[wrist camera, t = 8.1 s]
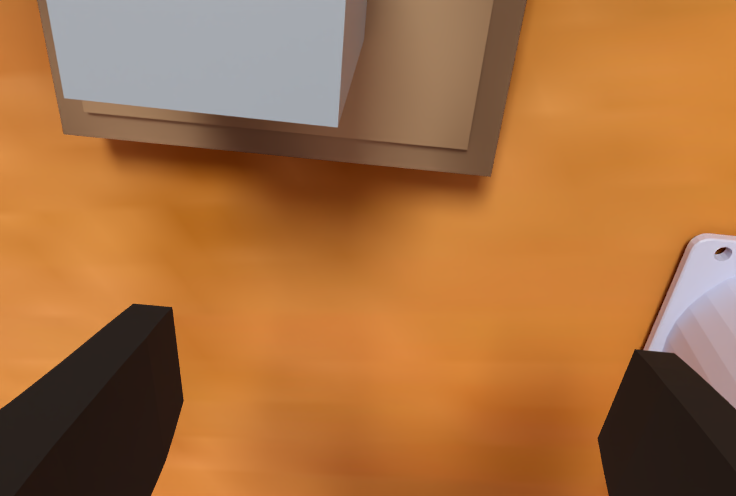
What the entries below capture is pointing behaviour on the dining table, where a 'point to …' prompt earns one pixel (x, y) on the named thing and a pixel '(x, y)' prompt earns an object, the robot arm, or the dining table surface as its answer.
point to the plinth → (362, 95)
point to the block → (212, 55)
